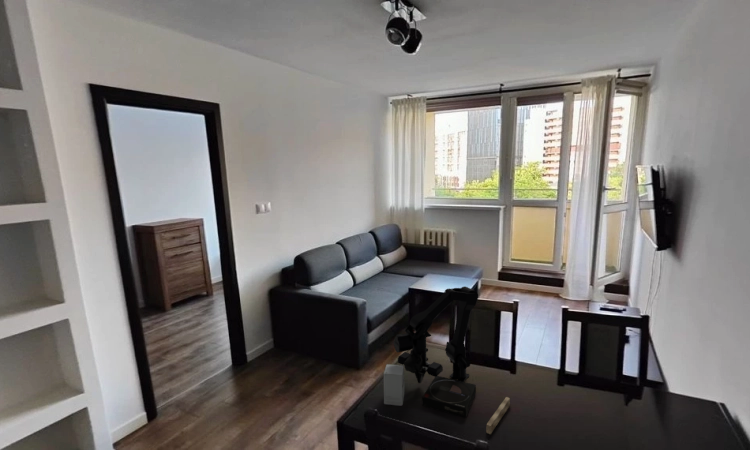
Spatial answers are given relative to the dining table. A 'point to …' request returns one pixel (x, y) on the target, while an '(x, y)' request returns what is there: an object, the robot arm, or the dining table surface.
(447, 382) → the portable cd player
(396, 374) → the supplement box
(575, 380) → the dining table surface
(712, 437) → the dining table surface
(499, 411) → the oak rail
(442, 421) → the dining table surface
